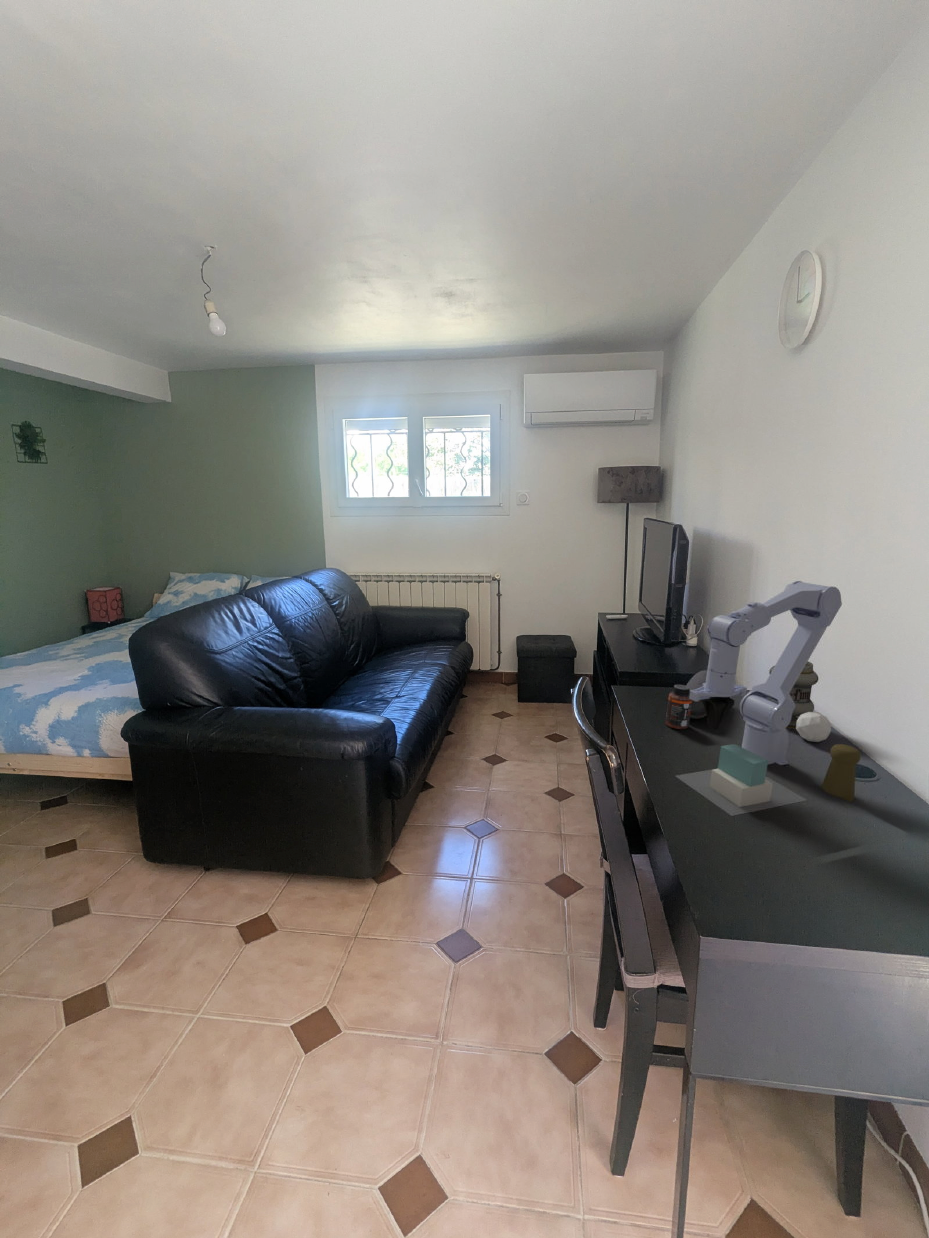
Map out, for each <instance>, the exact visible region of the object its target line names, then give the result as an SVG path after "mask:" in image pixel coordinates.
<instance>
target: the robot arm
mask: <svg viewBox="0 0 929 1238" xmlns="http://www.w3.org/2000/svg"><path fill="white" fill-rule="evenodd" d="M842 605H843V602H842V594H841V591H840V590H839V588H837V586H827V585H821V584H815V583H811V582H803V581H801V580H795V581H793V582H792V583H789V584H786V586H785V588H784V590H783V591H781V592H779V593H778V594H776V595H775V596H773V597H772V598H770V599H768V600H767V601H765V602H763V603H761V602H755V601H750V602H747V605H746V606H744V607H742V608H740V609H737V610H733V611H731V612H730V613H729V614H728V615H723V614H720V615H717V616H715V617H713V618H712V619H711V620H710V622H709V624H708V626H706V635H707V636H708V645H709V647H710V650H709V657H708V665H707V669H706V670H707V677H706V683H703V686H702V687H700V688H698V689H695V690H690V696H689V699H691V700H694V701H699V700H701V701H702V703H703V705H704V708H705V711H706V716H705V717H706V722H707V723H706V724H707V727H709V728H710V729H712V730H719V729H720V727H721V725H722V723H723V720H724V719H725V717H726V716H727V713H728V712H729V711H730V709H731V708H732V707H733V706H735V700H734V699H733V698H731V697H735V696H742V697H743V698H741V700H740V703H739V712H740V714H741V716H743V718H742V719H743V721H744V722H745V724H744V731H743V736H742V737H743V738H742V742H741V747H742V748H744V749H746V750H748V751H750V752H752V753H754V754H756V755H758V756H760V757H762V758H764V759H766V760H768V764H767V765H771V764H774V763H776V764H778V765H780V766H784V765H788V764H789V762H788V761H787V760H786V757H787V750H788V745H789V740H790V735H789V732H788V730H787V728H786V727H787V726H788V725H789V723H790V721H791V717H792V713H793V710H794V708H795V703H794V701H793V700H792V698H791V696H790V694H789V693H790V691H791V689H792V688H793V686H794V684H795V682H796V681H797V679H798V677H799V675H800V674H801V672H802V670H803V668H804V667H805V665H806V663H807V661H809V660H810V658H811V656H812V654H813V653H814V651H815V649H816V647H817V646H818V644H819V642H820V640H821V639H822V637H823V636H824V634H825V632H826V630H827V628H828V627H831V624H832V622H833V621H834V619H835V618H836V616H837V613H839V610H840V608H841V607H842ZM788 611H790V613H791V616H792V617H793V619H794V620H796V622H797V627H796V629H795V630H794V632H793V633H792V635H791V637H790V639H789V640H788V643H786V644H787V645H786V646H785V648H783V649H784V650H783V651H782V653H781V655H780V657H779V658H778V660H777V662H776V664H775V665H774V666H775V667H774V669H773V670H772V672H771V674H769V675H768V677H767V679H766V680H765V682H763V683H759V684H756V685H754V686H752V687H751V689H750V690H749V692H748V693H747V689H748V687H747V686H744V685H741V684H735V682H736V674H737V668H738V662H739V656H740V655H739V654H740V649H741V646H743V644H745V643H746V642H747V640H748V638H749V637H750V636H752V634H753V633H755V632H757V631H758V630H761V629H762V628H764V627H767V626H768V625H770V623H771V621H772V618H774V617H775V616H778V615H780V614H783V613H786V612H788ZM767 698H770V699H772V700H775V701H777V702H779V703H777V702H775V701H772V700H770V699H767Z"/></svg>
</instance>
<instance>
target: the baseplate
mask: <svg viewBox="0 0 929 1238" xmlns="http://www.w3.org/2000/svg"><path fill="white" fill-rule="evenodd" d="M713 769H714V768H713ZM713 769H707V770H702V771H695V772H690V773H684V774H677V775H675V777H676V778H677V779H679V780H680V781H681V782H683V783H684V784H685V785H687V786H688V787H689V788H691V789H693V790H694V791H695V792H697V793H698V794H699V795H702V797H704V798H705V799H707V800H708V801H710V802H711V803H713V804H714V805H716V806H717V807H718V808H719V809H721V810H722V811H724V812H725V813H727V814H728V815H729V816H731V817H733V816H734V817H735V816H738V815H745V814H748V813H749V814H750V813H753V812H758V811H763V810H767V809H772V808H778V807H782V806H783V807H784V806H787V805H792V804H797V803H802V802H806V801H808V799H806V798H805V797H803V796H801V795H799V794H798V793H796V792H794V791H792V790H791V789H789V788H788V787H786V786H784V785H782V784H780V783H778V782H777V781H775V780H773V779H771V778H770V777H768V776H765V779H767V780H768V781H770V782H772V783H773V786H772V792H771V798H770V801H767V802H762V803H757V804H752V805H747V806H742V807H739V806H737V805H736V804H734V803H733V802H731V801H730V800H728V799H727V798H725V797H724V796H722V795H721V794H719V793H718V792H716V791H715V790H713V789H712V788H711V787H710V780H711V774H712V770H713Z"/></svg>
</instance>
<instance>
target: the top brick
mask: <svg viewBox="0 0 929 1238" xmlns="http://www.w3.org/2000/svg"><path fill="white" fill-rule="evenodd" d="M768 765H769V764H768V760H766V759H764V758H762V757H760V756H758V755H756V754H754V753H752V752H750V751H748V750H746V749H744V748H742V746H740V745H738V744H736V743H730V744H727V745H721V746H720V751H719V757H718V764H717V769H720V770H722V771H724V772H725V773H727V774H729V775H731V776H732V777H734V778H736V779H738V780H739V781H741V782H743V783H745V784H746V785H748V786H750V787H751V786H755V785H759V784H763V783H764V782H765V776H766V775H767V770H768ZM766 777H767V776H766Z"/></svg>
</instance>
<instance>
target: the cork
mask: <svg viewBox="0 0 929 1238" xmlns="http://www.w3.org/2000/svg"><path fill="white" fill-rule="evenodd" d="M829 753H830V754H829V755H830V757H831V761H830V763H829V766H828V768H827V771H826V774H825V775H824V779H823V781H822V785H821V790H823V791H824V792H826V793H827V794H829V795H831V796H834V797H838V798H840V799H842V800H844V801H846V802H849V803H852V802H854V800H855V794H856V793H855V787H856V786H855V785H856V765H858V764H859V762H860V761H861V753H860V751H859V750H858V749H857V748H856V747H854V746H852V745H848V744H844V743H836V744H834V745H833V746H831V748H830V751H829Z"/></svg>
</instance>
